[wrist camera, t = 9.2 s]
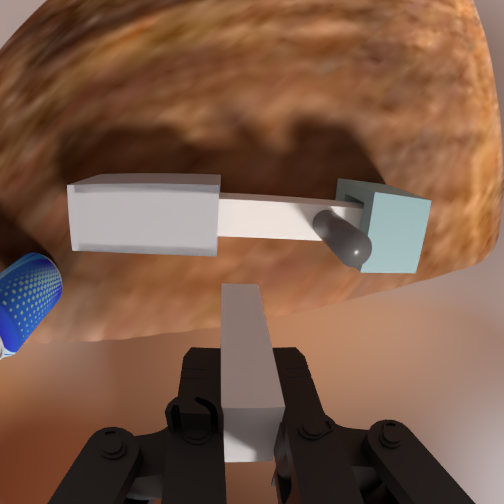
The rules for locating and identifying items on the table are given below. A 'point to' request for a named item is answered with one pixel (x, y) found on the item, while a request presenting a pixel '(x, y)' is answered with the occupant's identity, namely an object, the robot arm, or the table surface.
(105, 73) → the table surface
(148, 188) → the white rectangular box
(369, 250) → the sliding bolt with handle
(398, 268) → the socket block
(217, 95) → the table surface
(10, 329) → the beer can
